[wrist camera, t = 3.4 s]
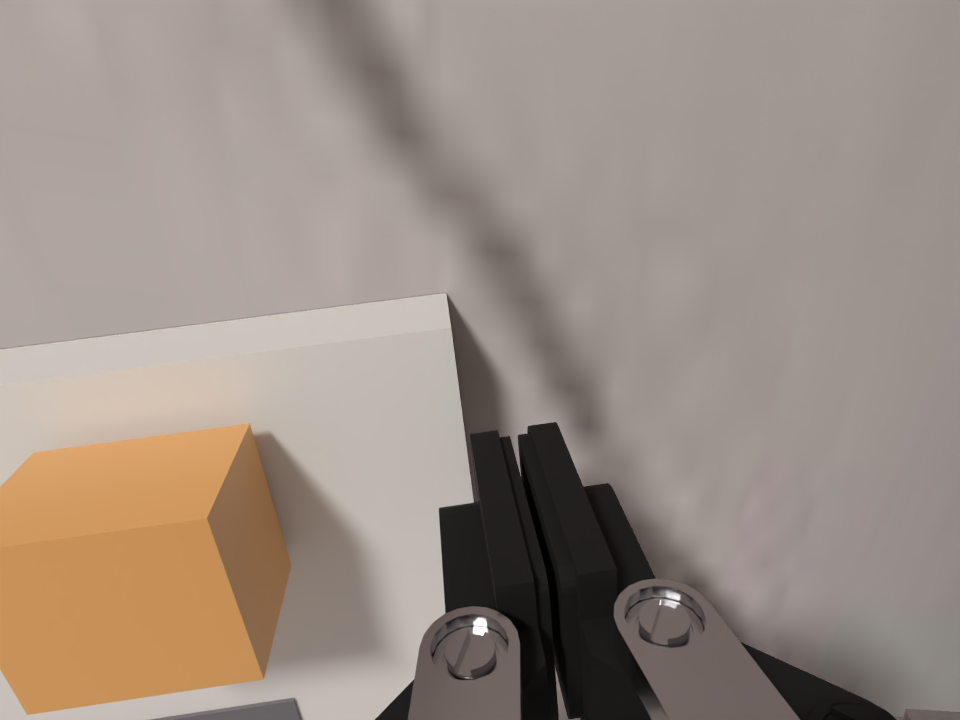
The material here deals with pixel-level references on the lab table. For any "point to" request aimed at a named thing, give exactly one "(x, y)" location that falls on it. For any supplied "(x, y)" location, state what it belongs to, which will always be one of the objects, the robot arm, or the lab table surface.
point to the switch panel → (285, 480)
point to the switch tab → (138, 569)
